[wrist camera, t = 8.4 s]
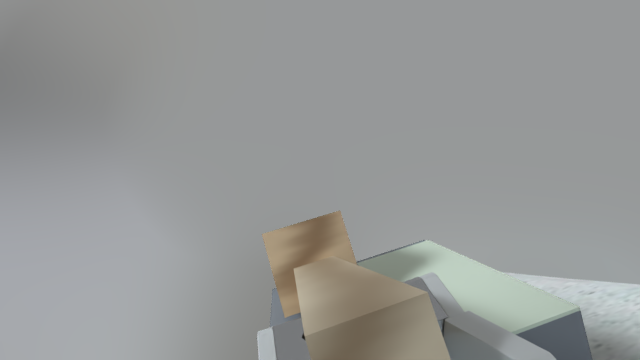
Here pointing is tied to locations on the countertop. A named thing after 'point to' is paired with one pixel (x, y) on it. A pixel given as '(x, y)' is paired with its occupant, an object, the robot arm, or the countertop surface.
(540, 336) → the stand
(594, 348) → the countertop surface
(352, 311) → the mallet
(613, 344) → the countertop surface
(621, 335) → the countertop surface
